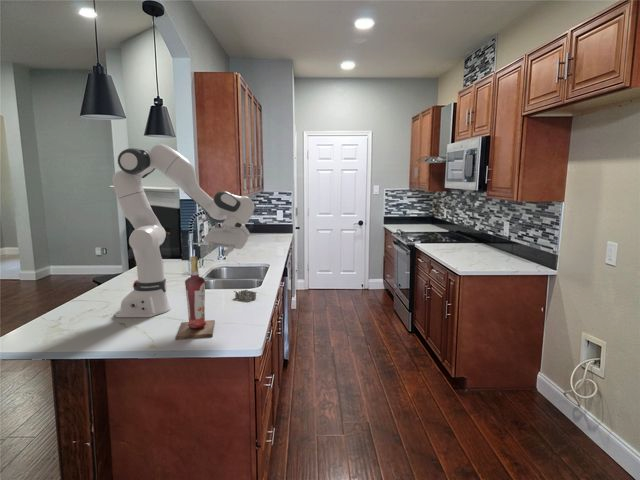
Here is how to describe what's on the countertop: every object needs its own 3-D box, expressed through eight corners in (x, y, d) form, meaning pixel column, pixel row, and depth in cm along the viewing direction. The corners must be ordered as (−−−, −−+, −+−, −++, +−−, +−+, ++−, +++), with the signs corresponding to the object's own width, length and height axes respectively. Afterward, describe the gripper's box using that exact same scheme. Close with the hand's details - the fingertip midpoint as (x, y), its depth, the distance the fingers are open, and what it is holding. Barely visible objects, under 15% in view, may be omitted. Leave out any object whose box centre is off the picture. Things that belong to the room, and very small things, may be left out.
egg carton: (232, 298, 197) (232, 290, 196) (244, 295, 203) (243, 287, 202) (247, 302, 190) (247, 294, 190) (258, 298, 196) (258, 290, 196)
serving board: (176, 339, 145) (175, 336, 145) (181, 325, 159) (181, 322, 159) (212, 336, 147) (212, 333, 147) (214, 322, 162) (214, 320, 162)
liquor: (200, 331, 149) (197, 259, 145) (183, 329, 151) (179, 258, 147) (210, 324, 156) (207, 255, 152) (193, 323, 158) (190, 255, 154)
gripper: (210, 222, 173) (194, 246, 166) (246, 225, 163) (230, 251, 156) (218, 231, 177) (202, 255, 170) (253, 234, 167) (238, 260, 160)
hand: (216, 253), depth 163 cm, fingers open, 8 cm apart
